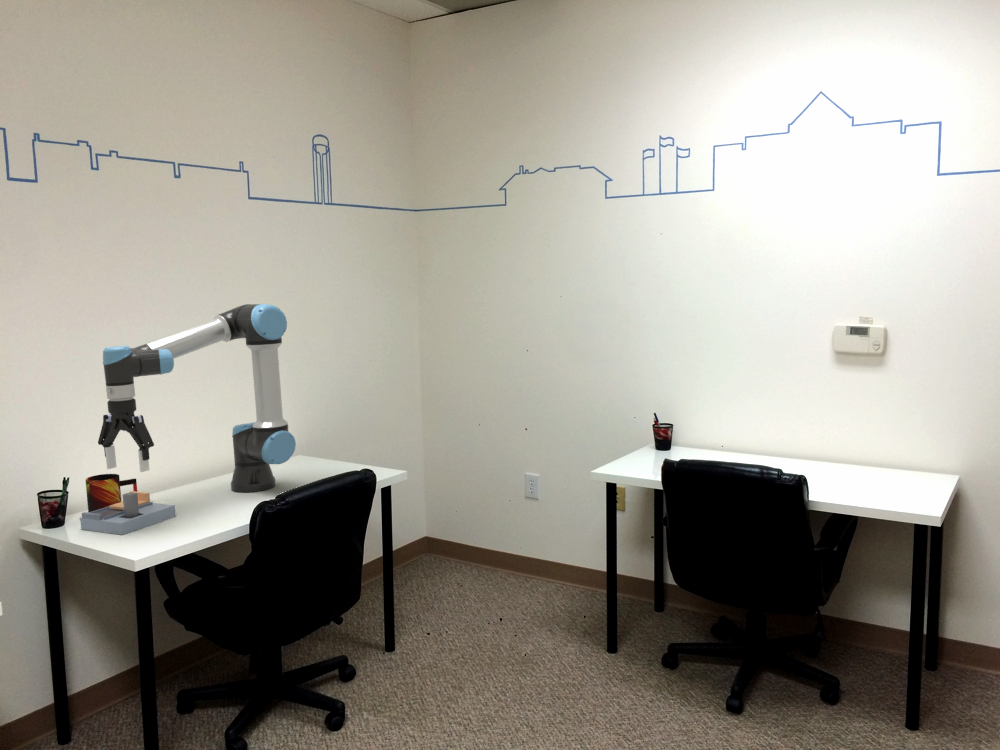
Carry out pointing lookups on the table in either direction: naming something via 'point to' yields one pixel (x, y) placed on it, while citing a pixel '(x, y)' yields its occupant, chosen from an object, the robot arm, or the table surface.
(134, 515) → the pin
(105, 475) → the mug
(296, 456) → the table surface
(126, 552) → the table surface
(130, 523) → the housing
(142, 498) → the lid
